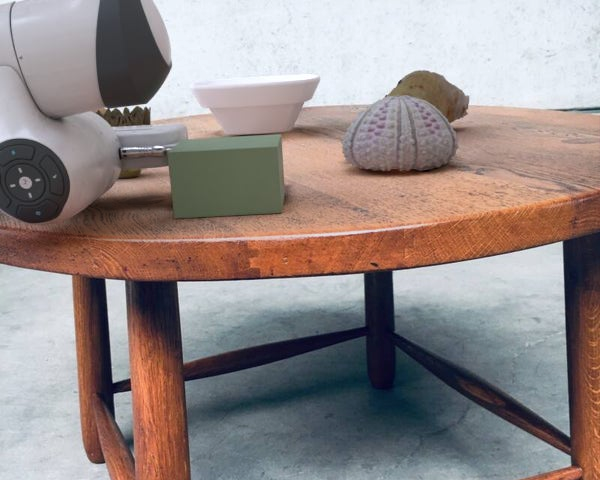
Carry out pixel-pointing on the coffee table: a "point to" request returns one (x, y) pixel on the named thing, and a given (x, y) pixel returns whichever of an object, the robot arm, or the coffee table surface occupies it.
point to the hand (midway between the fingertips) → (105, 140)
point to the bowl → (256, 101)
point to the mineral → (434, 93)
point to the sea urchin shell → (400, 136)
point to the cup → (127, 119)
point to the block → (227, 176)
